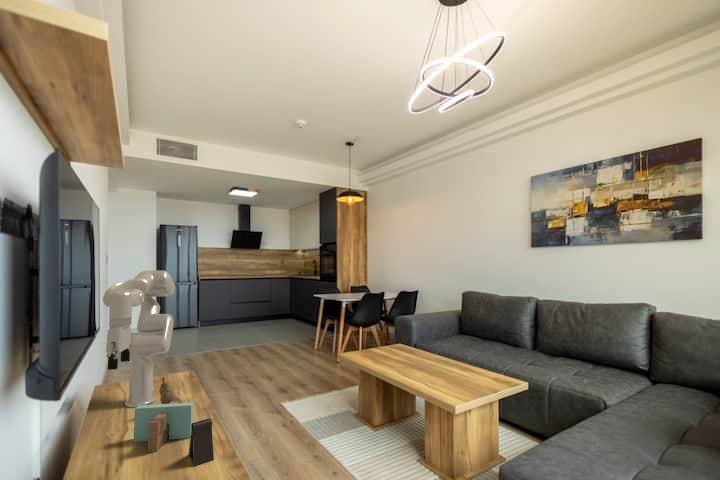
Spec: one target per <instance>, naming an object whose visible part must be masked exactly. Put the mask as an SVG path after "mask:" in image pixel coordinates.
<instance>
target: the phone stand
mask: <svg viewBox="0 0 720 480" xmlns="http://www.w3.org/2000/svg"><path fill="white" fill-rule="evenodd" d="M212 420H213V419H211V418H205V419H203V420H198V421H196V422H193V423H192V425H191V437H190V438H189V446H188V452H187V453H188V454H187V455H188V457H189V458H190V461H191V462H192V464H193V466H194V467H196V466H199V465H202V464H205V463H208V462H211V461H213V460H215V458H214V442H213V421H212Z"/></svg>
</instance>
